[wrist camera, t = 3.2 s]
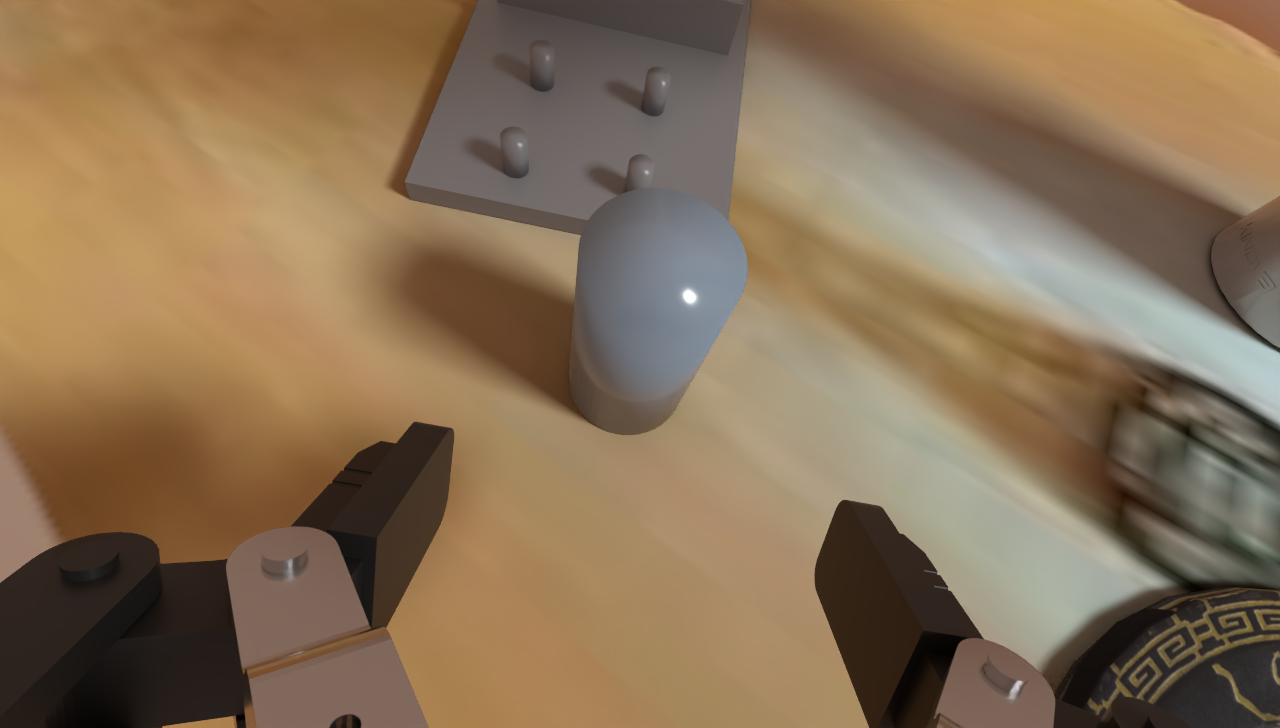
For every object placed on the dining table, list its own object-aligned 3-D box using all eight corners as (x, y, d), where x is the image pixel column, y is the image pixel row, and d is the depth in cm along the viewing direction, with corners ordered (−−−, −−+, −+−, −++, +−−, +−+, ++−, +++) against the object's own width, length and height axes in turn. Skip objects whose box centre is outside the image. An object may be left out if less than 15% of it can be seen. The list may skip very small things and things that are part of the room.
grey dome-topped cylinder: (688, 340, 27) (753, 207, 19) (675, 444, 25) (741, 348, 17) (580, 319, 27) (595, 173, 18) (557, 423, 25) (563, 313, 16)
